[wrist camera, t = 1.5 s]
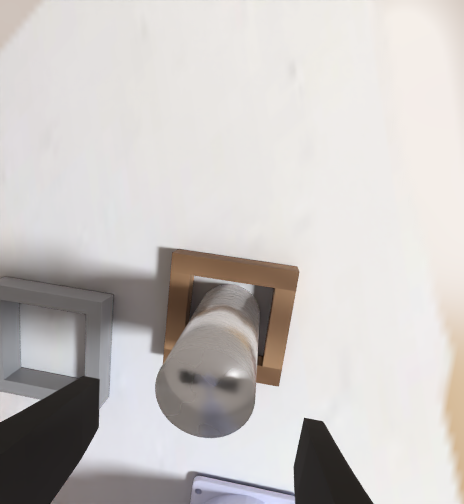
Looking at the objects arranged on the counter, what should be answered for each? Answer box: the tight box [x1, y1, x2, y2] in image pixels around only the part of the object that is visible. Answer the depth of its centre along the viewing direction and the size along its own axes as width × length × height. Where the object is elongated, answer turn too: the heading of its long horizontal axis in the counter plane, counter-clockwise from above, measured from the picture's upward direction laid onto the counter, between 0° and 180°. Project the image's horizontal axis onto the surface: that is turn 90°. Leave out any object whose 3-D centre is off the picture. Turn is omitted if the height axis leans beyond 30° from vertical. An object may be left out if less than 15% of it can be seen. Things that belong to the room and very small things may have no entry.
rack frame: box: [0, 277, 113, 409], centre depth 21 cm, size 8×8×2 cm
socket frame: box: [163, 249, 299, 386], centre depth 19 cm, size 8×8×1 cm
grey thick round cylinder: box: [155, 284, 260, 438], centre depth 16 cm, size 4×4×8 cm
